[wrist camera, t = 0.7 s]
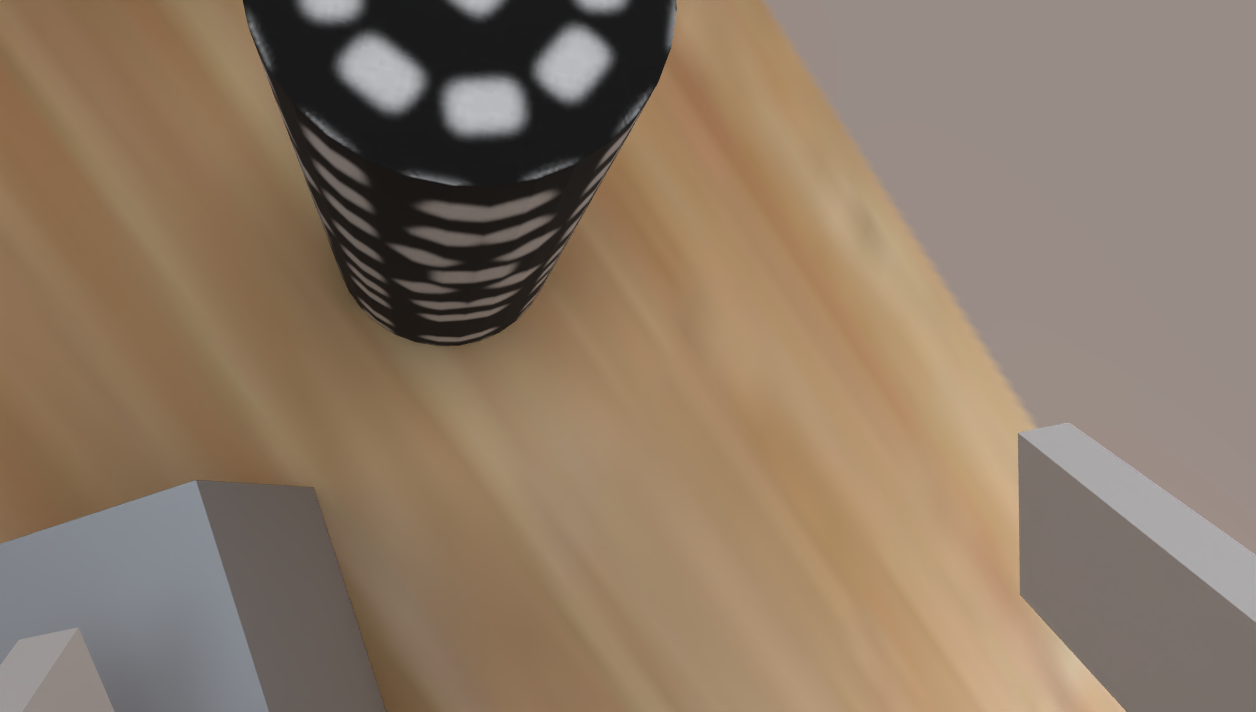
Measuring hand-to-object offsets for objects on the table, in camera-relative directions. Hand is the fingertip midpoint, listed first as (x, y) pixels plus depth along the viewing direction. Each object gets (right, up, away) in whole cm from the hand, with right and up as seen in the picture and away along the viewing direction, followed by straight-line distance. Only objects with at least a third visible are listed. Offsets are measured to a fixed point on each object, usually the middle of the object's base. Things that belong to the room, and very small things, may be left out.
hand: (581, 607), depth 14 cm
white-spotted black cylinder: (-7, +8, +25) cm, 27 cm away
